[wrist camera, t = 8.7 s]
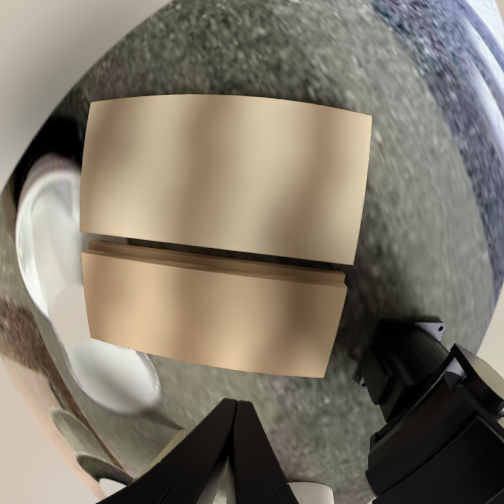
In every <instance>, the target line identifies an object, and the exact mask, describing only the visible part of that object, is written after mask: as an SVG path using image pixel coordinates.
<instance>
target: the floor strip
mask: <svg viewBox="0 0 504 504" xmlns="http://www.w3.org/2000/svg"><path fill="white" fill-rule="evenodd" d="M81 256H82V271H83V283H84V292H85V300H86V309H87V317H88V323H89V329H90V335H91V338H94V339H97V340H101V341H104V342H107V343H111V344H114V345H118V346H122V347H125V348H129V349H133V350H137V351H141V352H145V353H149V354H153V355H158V356H162V357H167V358H171V359H176V360H181V361H186V362H191V363H197V364H202V365H208V366H214V367H220V368H227V369H234V370H241V371H249V372H257V373H266V374H276V375H288V376H301V377H318V378H323V377H324V374H325V371H326V368H327V365H328V361H329V358H330V354H331V351H332V348H333V344H334V340H335V337H336V333H337V329H338V326H339V322H340V318H341V314H342V310H343V306H344V302H345V297H346V293H347V289H348V288H347V287H346V285H345V284H344V279H345V274H344V273H343V272H342V271H334V270H325V269H316V268H308V267H300V266H291V265H283V264H275V263H266V262H258V261H250V260H242V259H234V258H226V257H218V256H210V255H202V254H194V253H187V252H179V251H171V250H164V249H156V248H148V247H141V246H133V245H126V244H118V243H111V242H104V241H96V240H94V241H91V242H89V249H88V250H86V251H83V252H81Z"/></svg>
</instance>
